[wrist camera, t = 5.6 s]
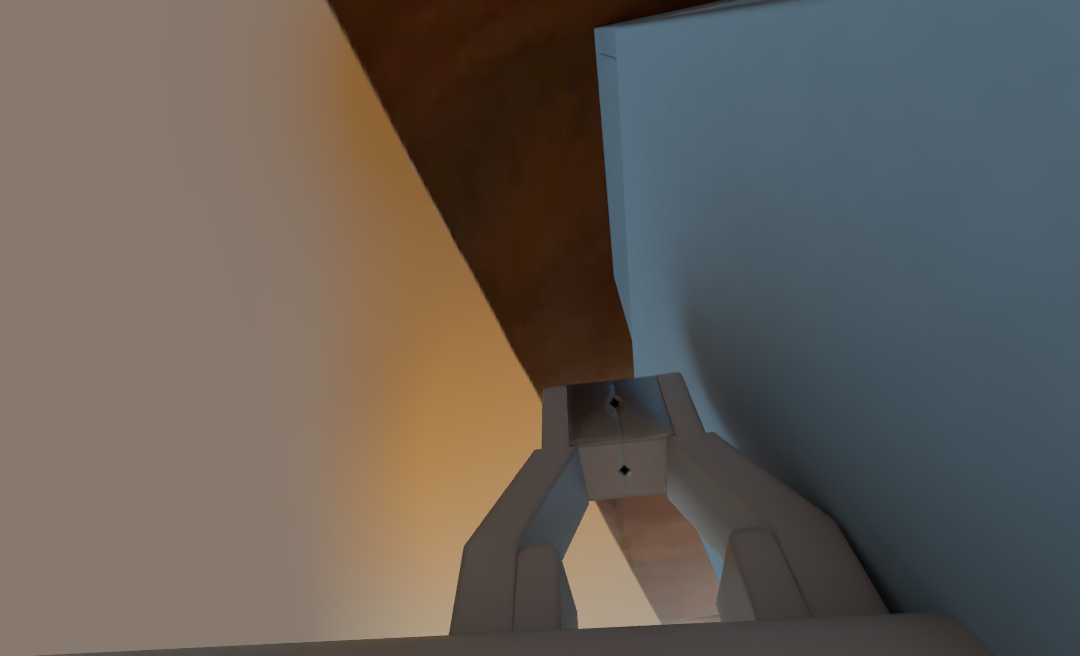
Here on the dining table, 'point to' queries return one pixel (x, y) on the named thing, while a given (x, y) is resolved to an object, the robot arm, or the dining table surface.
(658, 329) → the case lid
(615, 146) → the case
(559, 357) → the dining table surface
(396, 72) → the dining table surface
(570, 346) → the dining table surface
